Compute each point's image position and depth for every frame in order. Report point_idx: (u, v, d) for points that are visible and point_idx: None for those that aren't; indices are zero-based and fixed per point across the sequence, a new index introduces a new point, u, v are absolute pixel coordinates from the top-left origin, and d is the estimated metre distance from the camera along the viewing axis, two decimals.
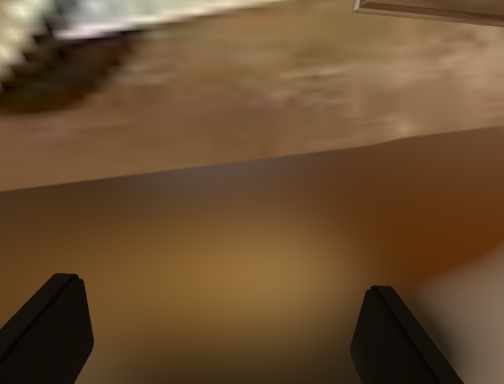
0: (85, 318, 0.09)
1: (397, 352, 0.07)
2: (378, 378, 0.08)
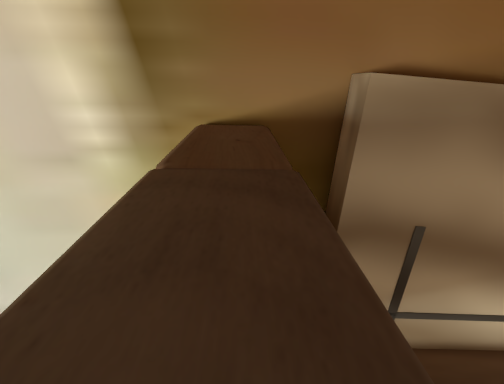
0: None
1: None
2: None
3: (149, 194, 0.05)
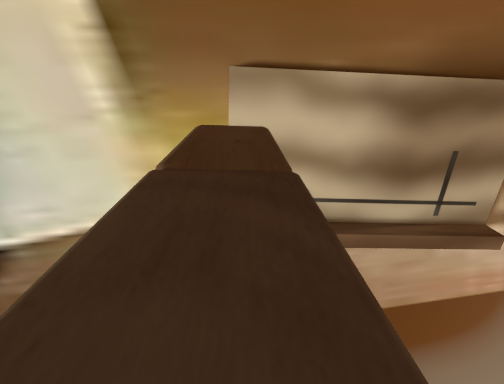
0: None
1: None
2: None
3: (149, 195, 0.05)
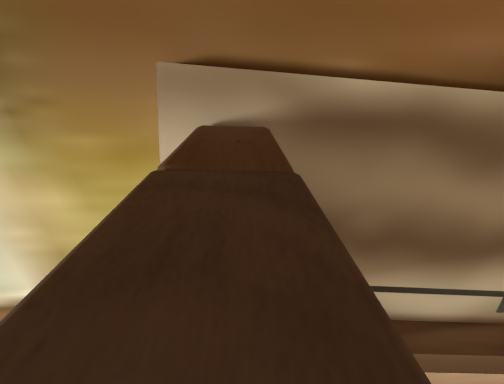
0: None
1: None
2: None
3: (151, 196, 0.05)
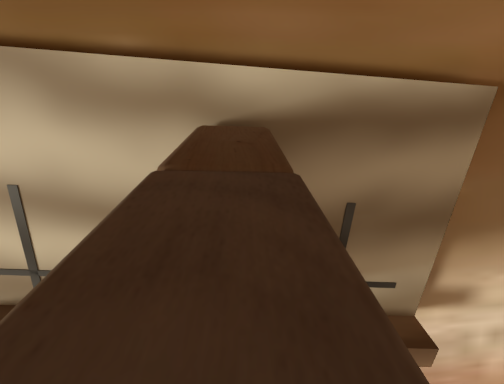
0: None
1: None
2: None
3: (151, 196, 0.05)
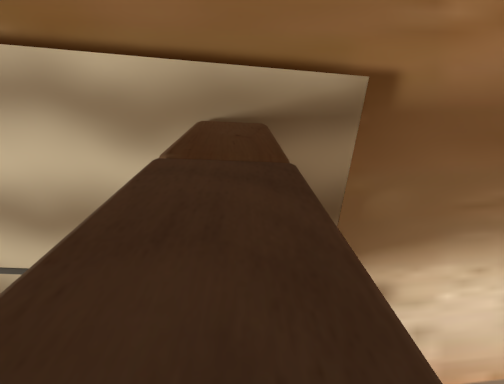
0: None
1: None
2: None
3: (154, 179, 0.05)
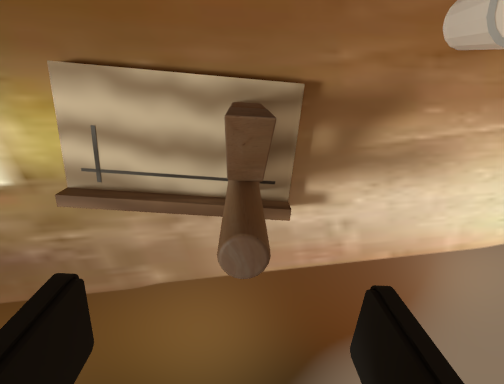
0: (85, 318, 0.09)
1: (397, 352, 0.07)
2: (378, 378, 0.08)
3: (234, 108, 0.24)
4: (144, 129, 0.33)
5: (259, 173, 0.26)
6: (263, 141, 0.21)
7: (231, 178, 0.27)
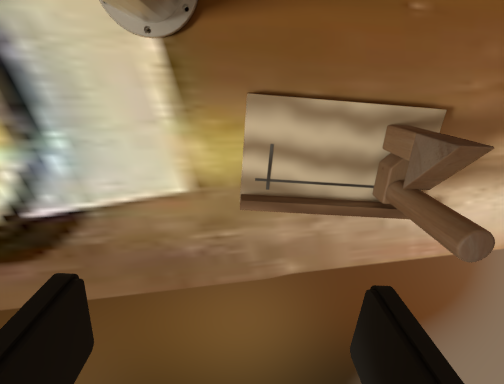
0: (85, 318, 0.09)
1: (397, 352, 0.07)
2: (378, 378, 0.08)
3: (430, 135, 0.31)
4: (312, 146, 0.40)
5: (435, 184, 0.34)
6: (466, 162, 0.29)
7: (408, 187, 0.35)
